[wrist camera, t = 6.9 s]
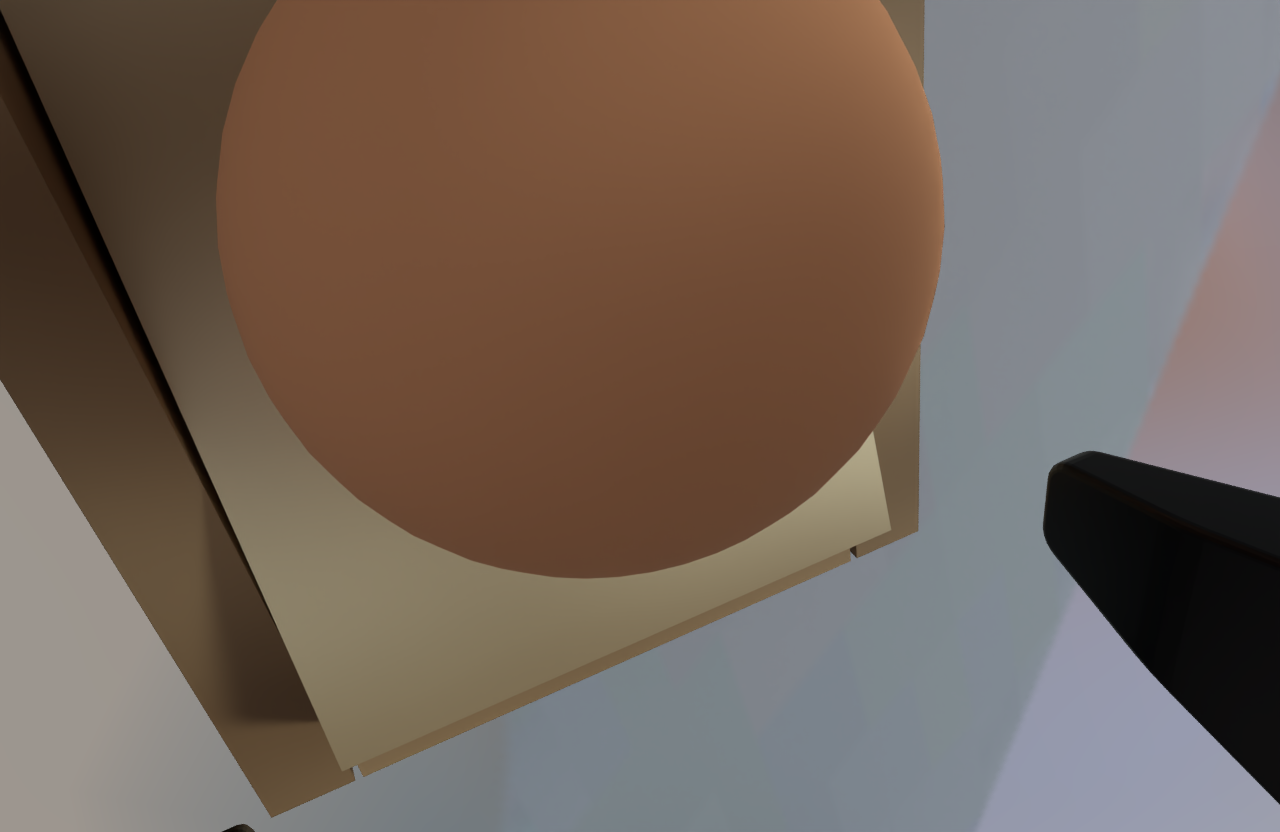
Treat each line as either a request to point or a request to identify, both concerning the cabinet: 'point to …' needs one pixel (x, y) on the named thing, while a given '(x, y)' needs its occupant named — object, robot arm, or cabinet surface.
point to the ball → (580, 261)
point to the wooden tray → (293, 435)
